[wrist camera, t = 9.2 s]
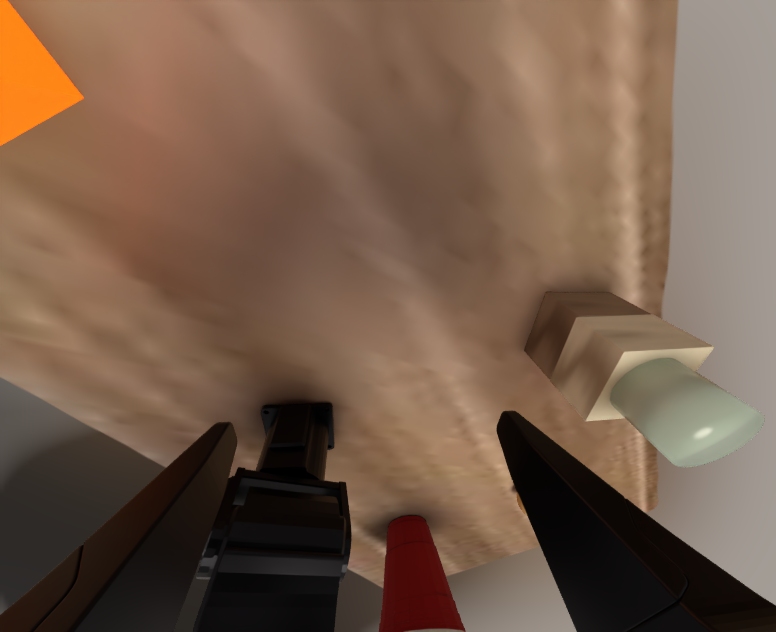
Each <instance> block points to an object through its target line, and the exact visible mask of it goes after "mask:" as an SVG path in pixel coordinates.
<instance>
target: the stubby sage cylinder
mask: <svg viewBox="0 0 776 632" xmlns="http://www.w3.org/2000/svg"><path fill="white" fill-rule="evenodd" d="M610 402H611V405H612V406H613V407H614V408H615V409H616V410H617V411H618V412H619V413H620V414H621V415H622V416H623V417H625V418H626V419H627V420H628V421H629V422H630V423H631V424H632V425H633V426H634V427H635V428H636V429H637V430H638V431H639V432H640V433H641V434H642V435H643V436H644V437H645V438H646V439H647V440H648V441H649V442H650V443H652V444H653V445H654V446H655V447H656V448H657V449H658V450H659V451H660V452H661V453H662V454H663V455H664V456H665V457H666V458H667V459H668V460H669V461H670V462H671V463H673V464H674V465H676V466H679V467H693V466H699V465H703V464H706V463H710V462H712V461H715V460H718V459H720V458H722V457H724V456H726V455H728V454H730V453H732V452H734V451H735V450H737V449H739V448H740V447H742V446H743V445H744V444H746V443H747V442H749V441H750V440H751V439H752V438H753V437H754V436H755V435H756V434H757V433H758V432H759V431H760V429H761V428H762V426H763V424H764V415H763V414H762V413H761V412H759V411H757V410H756V409H754V408H753V407H751V406H750V405H748V404H746V403H745V402H743V401H742V400H740V399H738V398H737V397H735V396H734V395H732V394H730V393H729V392H727V391H726V390H724V389H722V388H721V387H719V386H718V385H716V384H714V383H713V382H711V381H710V380H708V379H707V378H705V377H703V376H702V375H700V374H698V373H697V372H695V371H694V370H692V369H691V368H689V367H687V366H686V365H684V364H683V363H681V362H679V361H678V360H676V359H673V358H659V359H654V360H651V361H648V362H645V363H643V364H641V365H639V366H637V367H635V368H634V369H632V370H631V371H629V372H628V373H627V374H625V375H624V376H623V377H622V378H621V379H620V380H619V381H618V382H617V383H616V385H615V386H614V388H613V389H612V392H611V395H610Z"/></svg>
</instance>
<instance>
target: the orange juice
mask: <svg viewBox="0 0 776 632" xmlns="http://www.w3.org/2000/svg"><path fill="white" fill-rule="evenodd" d="M82 99H83V96H82V95H81V94H80V92H79V91H78V90H77V89H76V87H75V86H74V85H73V84H72V82H71V81H70V80H69V78H68V77H67V76H66V75H65V73H64V72H63V71H62V70H61V68H60V67H59V66H58V64H57V63H56V62H55V61H54V59H53V58H52V57H51V56H50V54H49V53H48V52H47V50H46V49H45V48H44V47H43V45H42V44H41V43H40V42H39V40H38V39H37V38H36V36H35V35H34V34H33V33H32V31H31V30H30V29H29V27H28V26H27V25H26V24H25V22H24V21H23V20H22V19H21V17H20V16H19V15H18V13H17V12H16V11H15V10H14V8H13V7H12V6H11V5H10V3H9V2H8V1H7V0H0V145H2V144H4V143H6V142H8V141H9V140H11V139H13V138H15V137H16V136H18V135H20V134H22V133H23V132H25V131H27V130H29V129H30V128H32V127H34V126H36V125H38V124H39V123H41V122H43V121H45V120H46V119H48V118H50V117H52V116H53V115H55V114H57V113H59V112H60V111H62V110H64V109H66V108H68V107H69V106H71V105H73V104H75V103H76V102H78V101H80V100H82Z"/></svg>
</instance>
